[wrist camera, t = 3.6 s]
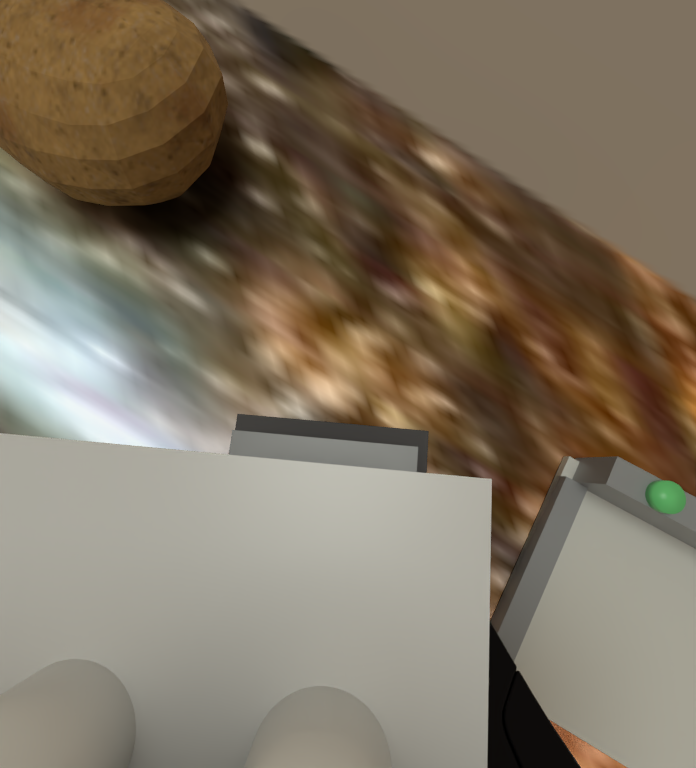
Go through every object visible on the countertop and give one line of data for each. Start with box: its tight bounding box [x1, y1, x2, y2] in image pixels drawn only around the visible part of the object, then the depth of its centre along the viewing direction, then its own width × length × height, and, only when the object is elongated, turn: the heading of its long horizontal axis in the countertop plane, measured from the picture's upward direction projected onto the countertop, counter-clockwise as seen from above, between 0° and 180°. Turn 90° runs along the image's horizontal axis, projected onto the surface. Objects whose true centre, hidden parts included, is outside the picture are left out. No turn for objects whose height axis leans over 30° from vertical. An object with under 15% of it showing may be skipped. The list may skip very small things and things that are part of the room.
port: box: [490, 456, 696, 768], centre depth 15 cm, size 10×11×3 cm
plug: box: [0, 430, 492, 768], centre depth 9 cm, size 7×7×14 cm
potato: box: [0, 0, 228, 206], centre depth 18 cm, size 10×14×8 cm
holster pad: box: [235, 414, 428, 473], centre depth 18 cm, size 9×9×1 cm
